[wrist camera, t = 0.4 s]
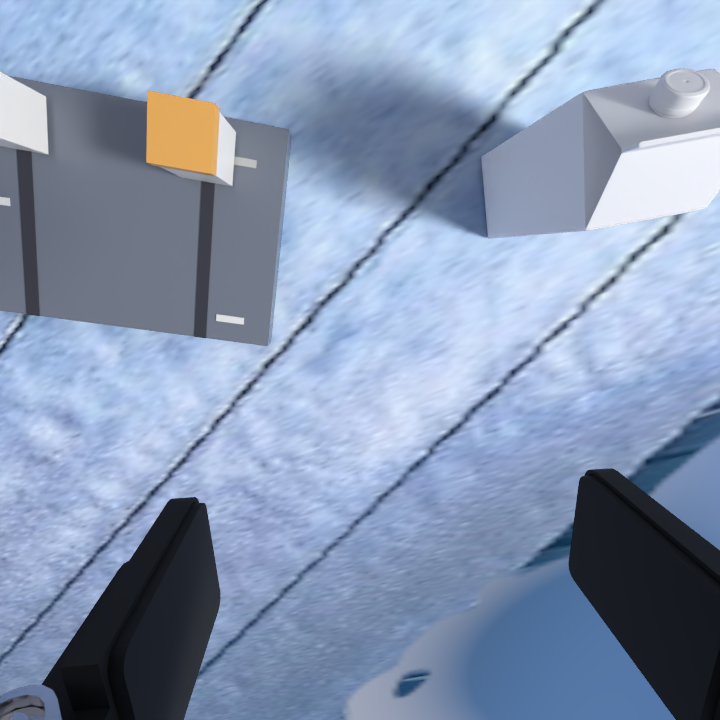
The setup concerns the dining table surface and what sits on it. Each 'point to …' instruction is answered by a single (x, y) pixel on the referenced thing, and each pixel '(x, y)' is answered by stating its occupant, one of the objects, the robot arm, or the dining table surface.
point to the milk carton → (609, 158)
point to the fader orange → (189, 138)
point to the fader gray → (22, 117)
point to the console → (140, 226)
